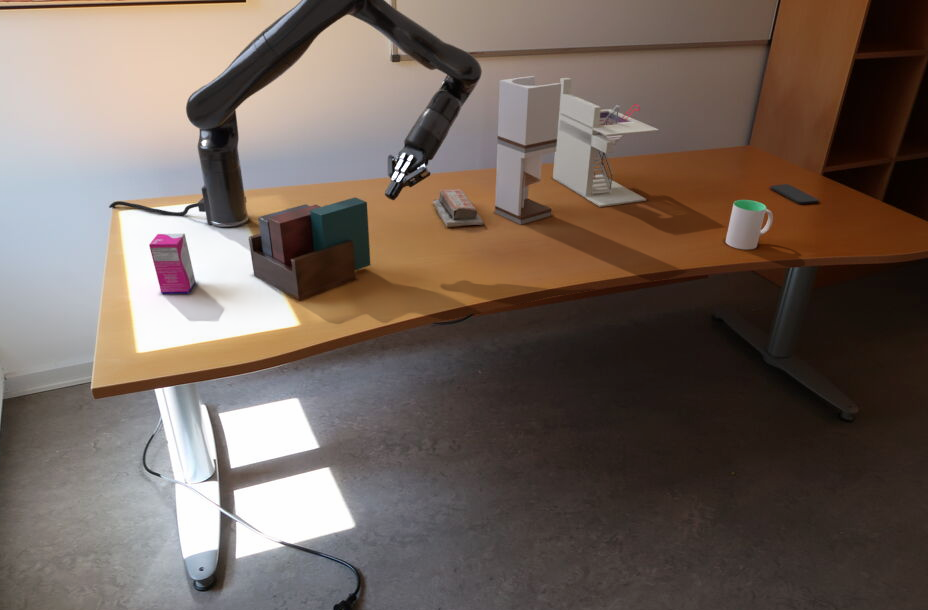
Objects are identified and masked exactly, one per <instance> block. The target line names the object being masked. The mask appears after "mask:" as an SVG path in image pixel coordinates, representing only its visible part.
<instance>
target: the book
mask: <svg viewBox="0 0 928 610" xmlns="http://www.w3.org/2000/svg"><path fill="white" fill-rule="evenodd" d="M310 216H311V226H312V236H313V246H314V251H317V250H321V249H324V248H327V247H330V246H333V245H336V244H339V243H342V242H345V241H348V240H351V241H353V246H354V260H355V271H357V270H360V269H363V268H367V267H370V266H371V252H370V251H371V250H370V249H371V248H370V247H371V246H370V233H369V215H368V201H365V200H363V199H360V198H358V197H351V198H347V199H344V200H341V201H337V202H334V203H330V204H327V205H323V206H320V207H319V208H316V209H312V210H310Z"/></svg>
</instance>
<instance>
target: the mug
mask: <svg viewBox="0 0 928 610" xmlns="http://www.w3.org/2000/svg"><path fill="white" fill-rule="evenodd" d="M765 214H767V216H768V217H767V221H766V224H765V225H764V227H763V228H762V226H763V223H764V220H765V219H764V218H765ZM773 221H774V214H773V212H772V211H771V210H770V209H768V208H767V206H766V205H765V204H764V203H761V202H760V201H756V200H749V199H737V200H735V201H733V204H732V209H731V213H730V218H729V224H728V228H727V232H726V236H725V244H727V245H728V246H729V247H732V248H734V249H738V250H754V249H756V248H757V247H758V244H759V239H760V236H761V235H765V234H766V233H768V231H769V230H770V229H771V227H772V225H773Z"/></svg>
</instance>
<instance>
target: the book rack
mask: <svg viewBox="0 0 928 610" xmlns="http://www.w3.org/2000/svg"><path fill="white" fill-rule="evenodd" d="M319 207H321V206H320V205H318V204H313V205H308V204H306V203H305V204H301V205H298V206H294V207H290V208H286V209H283V210H280V211H279V210H278V211H277V212H276V211H275V212H271V213H268V214H265V215H261V216H258V217H257V219H258V226H259V227H258V228H259V233H257V234H253V235H250V236H248V244H249V251H250V258H251V265H252V271H253V276H254V277H256V278H257V279H260V280H261V281H263V282H265V283H267V284H269V286H272V287H273V288H275V289H277V290H279V291H281V292H283V293H284V294H286V295H287V296H289V297H290V298H293V299H295V300H297V301H299V302H301V301H303V300H305V299H308V298H311V297H313V296H316V295H319V294H321V293H324V292H326V291H327V292H328V291H329V290H332V289H335V288H337V287H340V286H343V285H346V284H348V283H351V282H354V281H356V279H357V278H356V277H357V276H356V270H355V260H354V246H353V241H351V240H348V241H345V242H342V243H339V244H336V245H333V246H330V247H327V248H324V249H321V250H317V251H314V246H313V236H312V226H311V216H310V210H312V209H316V208H319Z"/></svg>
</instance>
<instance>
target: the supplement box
mask: <svg viewBox="0 0 928 610" xmlns="http://www.w3.org/2000/svg"><path fill="white" fill-rule="evenodd" d="M148 246H149V250H150V254H151V258H152V262H153V266H154V270H155V273H156V277H157V281H158V285H159V290H160V293H161V294H162V295H189V294H190V293H191V292H192V290H193V287H194V286H195V285H196V283H197V281H196V278H195V274H194V273H195V272H194V268H193V264H192V260H191V255H190V251H189V247H188V242H187V237H186V233H182V232H181V233H156V235H155V236H154V237H153V239H152V240H151V241H150V243H149V245H148Z"/></svg>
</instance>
